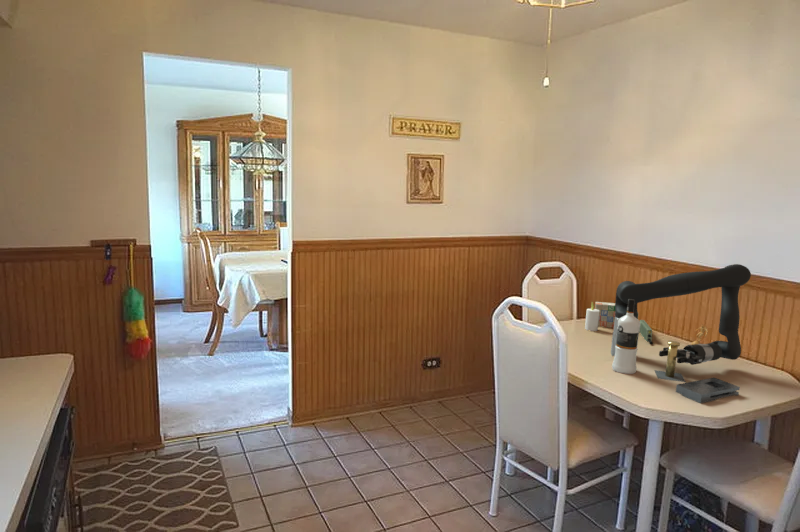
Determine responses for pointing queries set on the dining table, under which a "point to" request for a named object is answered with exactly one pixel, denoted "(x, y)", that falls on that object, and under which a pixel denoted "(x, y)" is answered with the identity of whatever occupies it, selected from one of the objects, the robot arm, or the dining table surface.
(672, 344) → the brass pin
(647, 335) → the handheld radio
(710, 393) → the slotted grey base plate
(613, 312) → the stack of blocks
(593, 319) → the candle
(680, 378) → the rubber mat
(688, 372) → the dining table surface
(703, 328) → the figurine
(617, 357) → the vodka
